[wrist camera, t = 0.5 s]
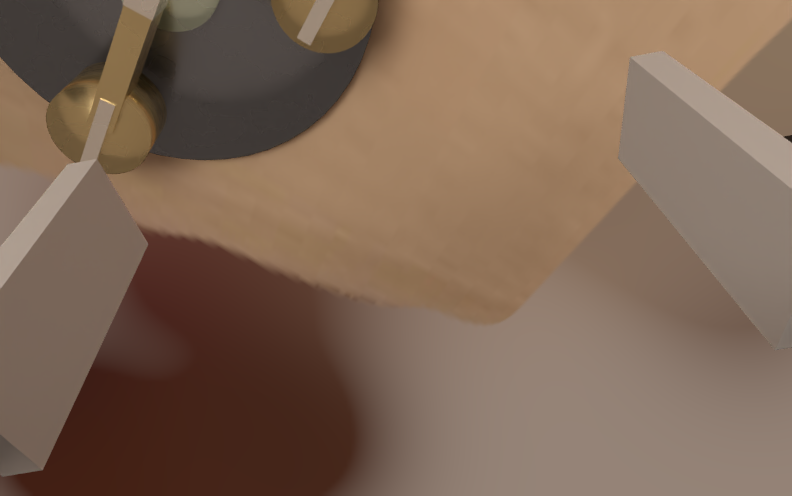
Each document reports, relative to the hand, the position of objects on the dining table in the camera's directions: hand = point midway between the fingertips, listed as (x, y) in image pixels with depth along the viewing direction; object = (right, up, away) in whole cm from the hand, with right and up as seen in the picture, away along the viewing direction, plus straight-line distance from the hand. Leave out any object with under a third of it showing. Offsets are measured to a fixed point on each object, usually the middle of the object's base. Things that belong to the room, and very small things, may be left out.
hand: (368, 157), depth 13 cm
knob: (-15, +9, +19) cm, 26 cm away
